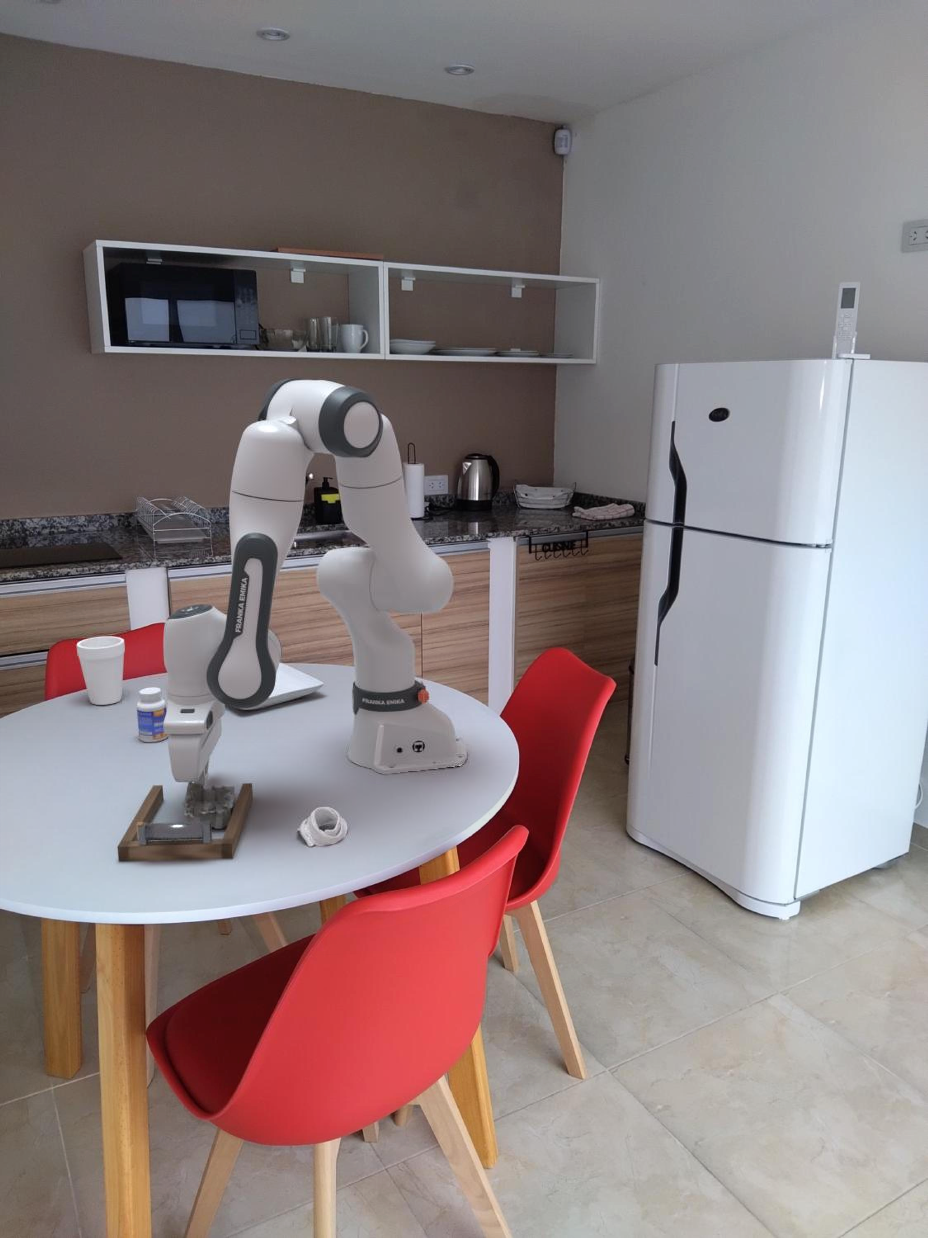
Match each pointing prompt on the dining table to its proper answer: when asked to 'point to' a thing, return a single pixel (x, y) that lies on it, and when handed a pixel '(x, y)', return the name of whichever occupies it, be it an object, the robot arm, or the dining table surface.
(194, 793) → the egg carton
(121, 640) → the foam cup
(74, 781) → the dining table surface
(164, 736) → the pill bottle
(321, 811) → the white crumpled cloth
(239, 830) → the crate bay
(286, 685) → the salad plate
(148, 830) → the winch
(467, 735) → the dining table surface
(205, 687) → the robot arm
